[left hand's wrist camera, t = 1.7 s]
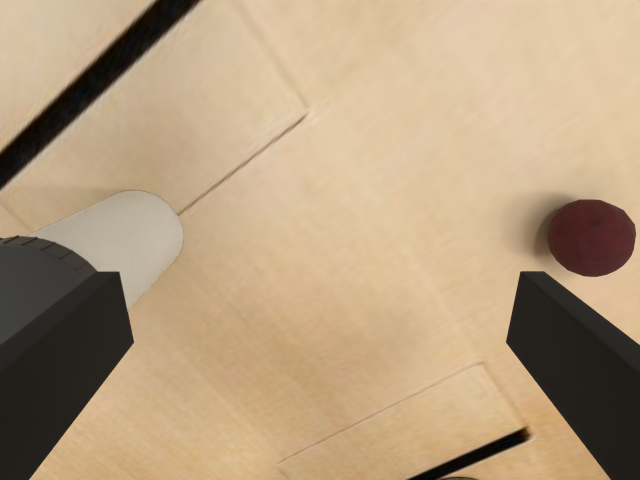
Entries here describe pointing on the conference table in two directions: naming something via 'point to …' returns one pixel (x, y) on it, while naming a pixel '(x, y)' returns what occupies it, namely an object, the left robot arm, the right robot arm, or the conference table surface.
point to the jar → (123, 238)
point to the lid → (35, 279)
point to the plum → (591, 237)
